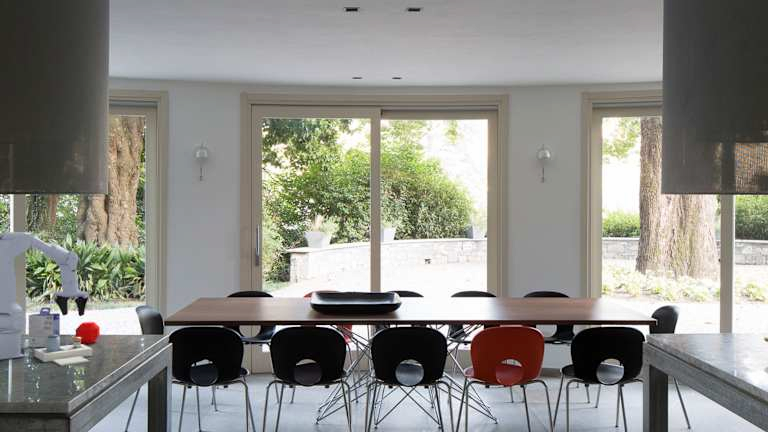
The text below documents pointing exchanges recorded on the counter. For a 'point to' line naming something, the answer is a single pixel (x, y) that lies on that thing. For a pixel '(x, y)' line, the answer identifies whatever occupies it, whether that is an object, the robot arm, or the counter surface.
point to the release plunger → (76, 342)
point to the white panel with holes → (63, 353)
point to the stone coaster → (70, 360)
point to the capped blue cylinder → (52, 343)
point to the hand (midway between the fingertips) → (73, 315)
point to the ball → (88, 332)
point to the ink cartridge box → (43, 327)
